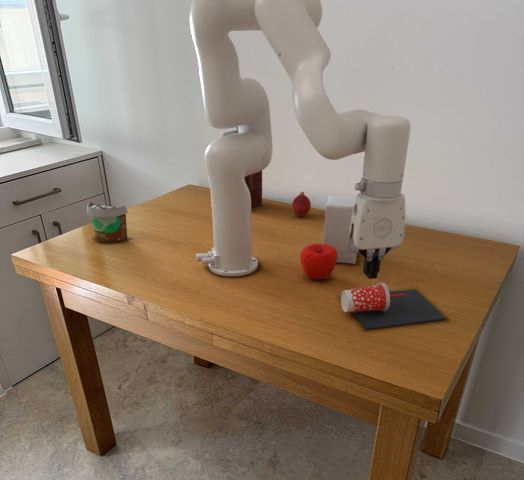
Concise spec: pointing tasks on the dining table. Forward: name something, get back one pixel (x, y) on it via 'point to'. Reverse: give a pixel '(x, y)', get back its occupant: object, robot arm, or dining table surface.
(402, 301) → the mat
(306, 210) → the onion
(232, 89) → the robot arm
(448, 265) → the dining table surface
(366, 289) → the beverage cup
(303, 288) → the dining table surface
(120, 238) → the food container
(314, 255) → the apple
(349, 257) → the white product box
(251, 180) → the toy vending machine
